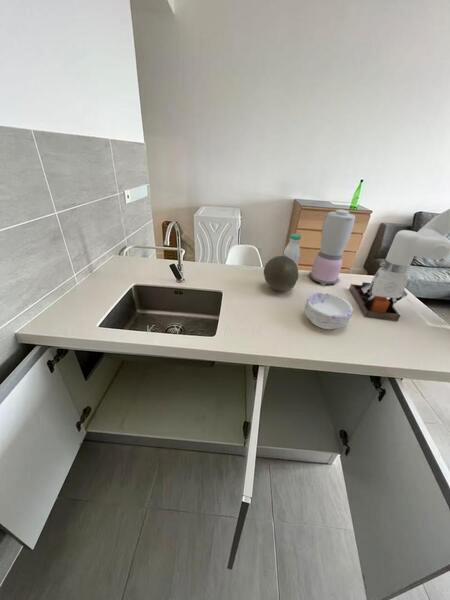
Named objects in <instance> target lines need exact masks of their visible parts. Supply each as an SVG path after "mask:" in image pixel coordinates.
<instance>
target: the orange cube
mask: <svg viewBox="0 0 450 600" xmlns="http://www.w3.org/2000/svg"><path fill="white" fill-rule="evenodd" d="M388 299H389V298H388V297H380V296H375V297H374V298H373V299H372V303H371V306H370V308H369V309H370V310H371V311H377V312H384V313H386V311H387V309H388V306H389V304H390V302H389V301H388Z"/></svg>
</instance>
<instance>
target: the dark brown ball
mask: <svg viewBox="0 0 450 600" xmlns="http://www.w3.org/2000/svg"><path fill="white" fill-rule="evenodd" d="M263 276H264V280H265V282H266V283H267V285H268V286H270V288H271V289H273V290H275V291H279V292H287V291H290V290H292V289H293V288H294V287H295V286H296V284H297V282H298V279H299V269H298V267H297V265H296V263H295V262H294V261H293V260H292V259H290V258H288V257H285V256H283V255H277V256H274V257H272V258H270V259H269V260H268V261H267V262H266V263H265V265H264V268H263Z"/></svg>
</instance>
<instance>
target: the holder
mask: <svg viewBox="0 0 450 600" xmlns="http://www.w3.org/2000/svg"><path fill="white" fill-rule="evenodd" d="M361 286H362V284H355V283H351V284H350V285H349V288H348V290H349V292H350V293H351V295H352V297H353V299H354V301H355V302H356V304H357V306H358V307H359V309H360V311H361V313H362V314H363V317H364V318H368V319H369V318H370V319H377V320H386V321H392V322H393V321H394V322H398V321H399V320H400V317H401V314H400V313H399V312H398V311H397V309H396V308H395V306H394V305H393V306H392V308H391V309H390V311H389V312H387V311H386V313H384V312H377V311H371V310H370V309H367V307H366V305H365V304H364V303H365V300H366V298H367V297H363V296H361V294H360V293H359V291H360V289H361Z"/></svg>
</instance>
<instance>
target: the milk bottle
mask: <svg viewBox="0 0 450 600" xmlns="http://www.w3.org/2000/svg"><path fill="white" fill-rule="evenodd" d="M301 237H302V236H301V235H300V234H298V233H291V234H290V236H289V242H288V243H287V245H286V246H285V249H284V250H283V255H282V256H285V257H288V258H290V259H292V260H293V261H294V262H295V263H296V265H297V268H298V267H299V263H300V258H301V247H300V241H301Z"/></svg>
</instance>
